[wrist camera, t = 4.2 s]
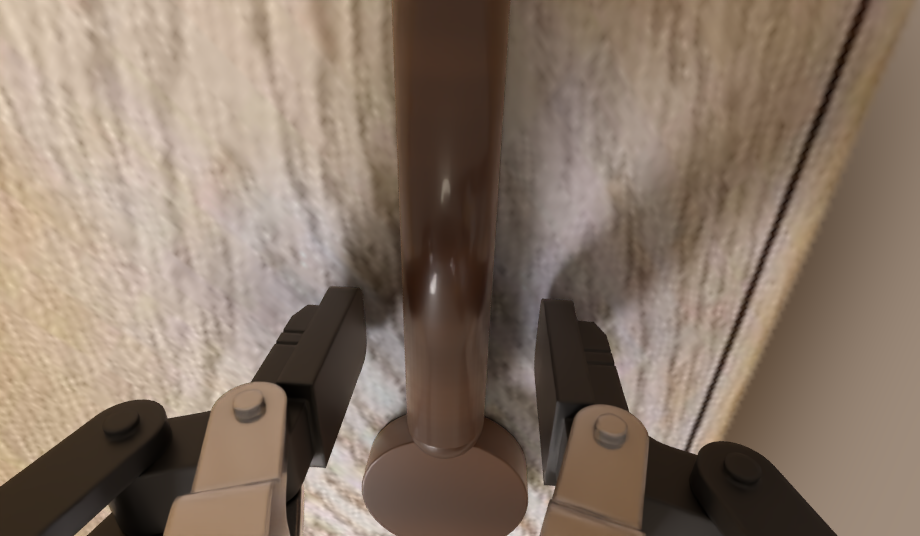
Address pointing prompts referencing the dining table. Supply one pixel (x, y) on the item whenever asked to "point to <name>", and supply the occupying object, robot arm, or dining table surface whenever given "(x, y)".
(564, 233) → the dining table surface
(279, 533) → the robot arm
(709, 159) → the dining table surface
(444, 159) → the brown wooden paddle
